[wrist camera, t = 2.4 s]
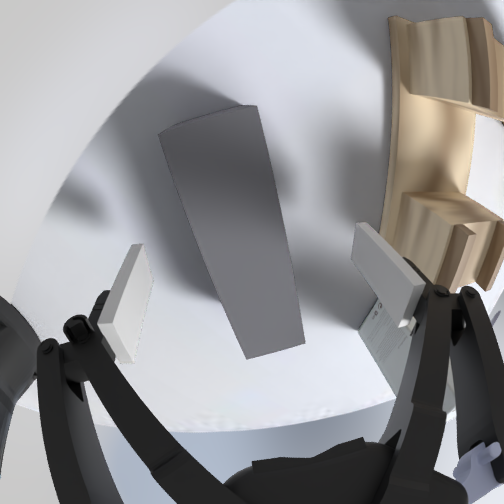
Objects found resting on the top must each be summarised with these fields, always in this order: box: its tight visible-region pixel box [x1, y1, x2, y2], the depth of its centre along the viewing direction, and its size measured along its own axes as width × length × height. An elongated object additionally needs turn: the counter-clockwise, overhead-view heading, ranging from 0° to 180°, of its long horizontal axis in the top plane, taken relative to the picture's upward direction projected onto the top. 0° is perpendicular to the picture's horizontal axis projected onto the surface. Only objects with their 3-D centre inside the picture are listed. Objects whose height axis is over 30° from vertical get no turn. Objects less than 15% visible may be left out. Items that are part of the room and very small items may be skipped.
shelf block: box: [379, 16, 504, 293], centre depth 15 cm, size 10×21×8 cm, turn 3°
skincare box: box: [358, 298, 456, 423], centre depth 22 cm, size 8×6×15 cm
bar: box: [158, 105, 305, 360], centre depth 18 cm, size 4×16×6 cm, turn 14°
